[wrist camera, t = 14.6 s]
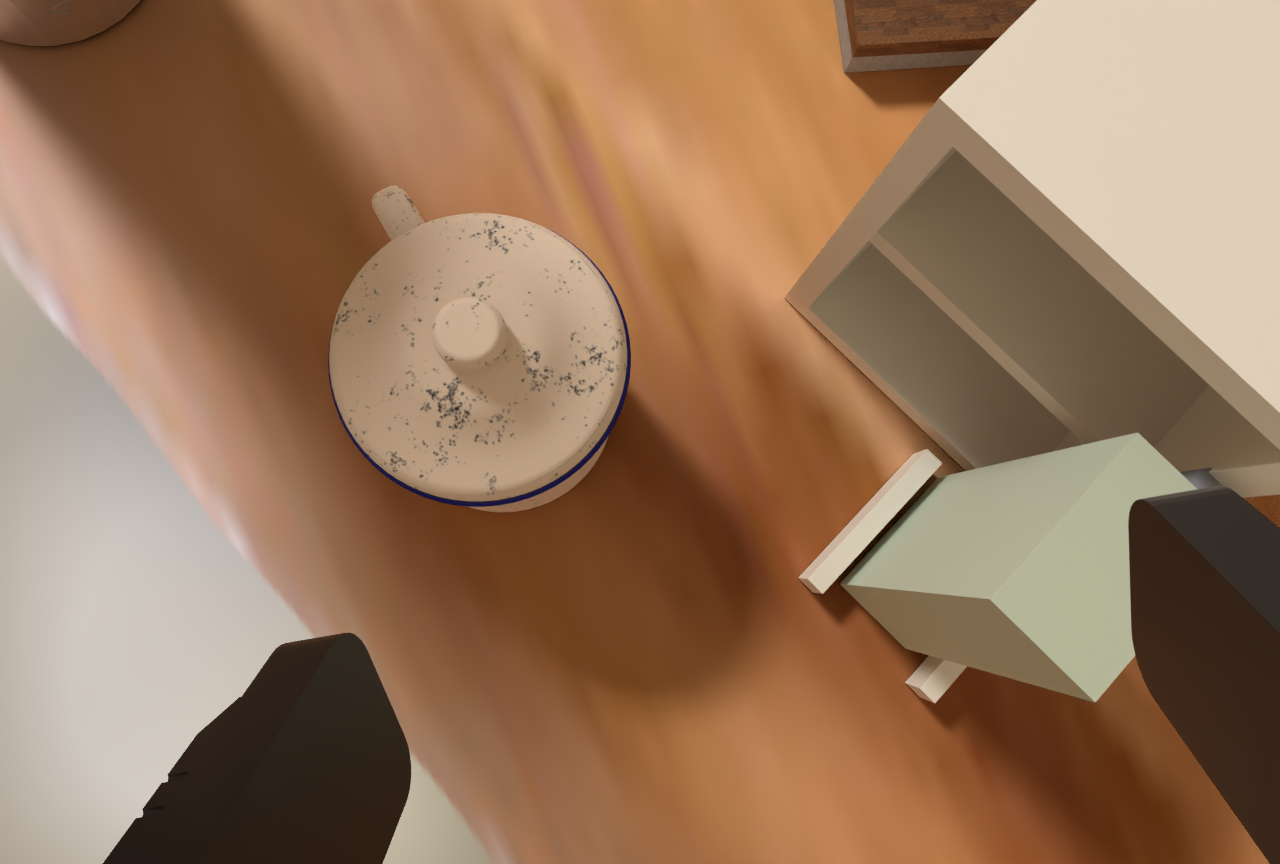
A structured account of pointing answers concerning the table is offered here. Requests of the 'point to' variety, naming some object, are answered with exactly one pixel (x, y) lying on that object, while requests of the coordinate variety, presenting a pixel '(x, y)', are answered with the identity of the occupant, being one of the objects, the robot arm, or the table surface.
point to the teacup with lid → (478, 358)
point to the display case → (921, 31)
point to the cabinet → (1074, 256)
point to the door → (1021, 565)
